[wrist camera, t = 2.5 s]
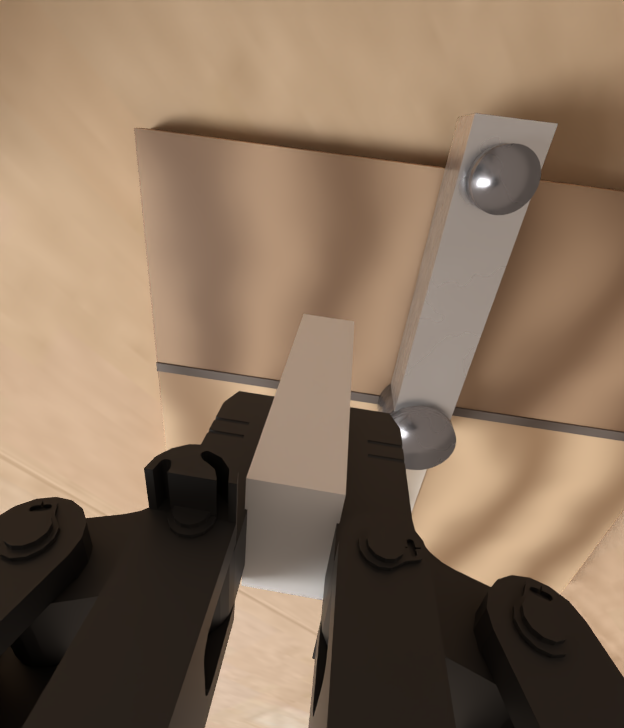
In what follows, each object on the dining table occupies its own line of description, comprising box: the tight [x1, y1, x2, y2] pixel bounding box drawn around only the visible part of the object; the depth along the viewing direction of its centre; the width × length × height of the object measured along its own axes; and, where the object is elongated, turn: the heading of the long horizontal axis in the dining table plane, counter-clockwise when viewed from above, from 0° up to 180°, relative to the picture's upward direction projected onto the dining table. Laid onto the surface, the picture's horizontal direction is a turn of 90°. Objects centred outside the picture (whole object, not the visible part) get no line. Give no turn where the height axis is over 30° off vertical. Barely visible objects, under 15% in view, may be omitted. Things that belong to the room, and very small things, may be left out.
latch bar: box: [377, 113, 558, 470], centre depth 19 cm, size 17×4×4 cm, turn 174°
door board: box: [134, 128, 624, 594], centre depth 25 cm, size 32×30×5 cm
